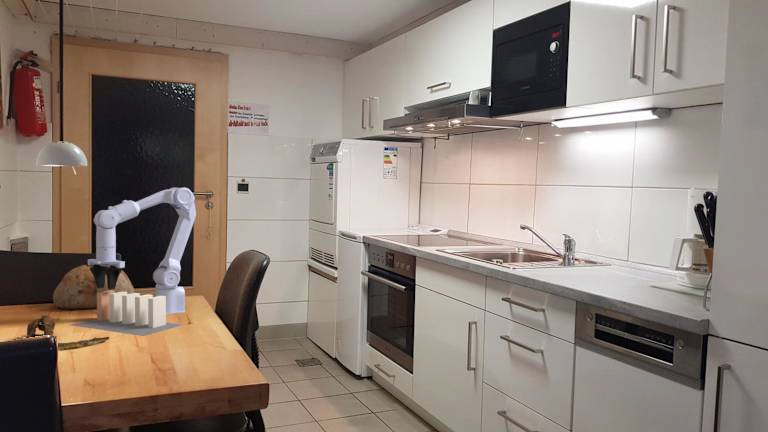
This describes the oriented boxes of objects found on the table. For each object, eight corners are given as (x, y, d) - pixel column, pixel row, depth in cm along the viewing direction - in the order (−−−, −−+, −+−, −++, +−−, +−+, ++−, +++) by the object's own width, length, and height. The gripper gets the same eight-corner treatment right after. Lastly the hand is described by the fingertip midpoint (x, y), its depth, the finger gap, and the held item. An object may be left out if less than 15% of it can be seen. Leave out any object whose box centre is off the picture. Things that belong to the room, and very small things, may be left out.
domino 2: (109, 321, 182) (109, 293, 182) (122, 318, 187) (122, 291, 187) (114, 322, 181) (114, 294, 181) (127, 319, 186) (127, 292, 186)
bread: (45, 312, 197) (44, 269, 196) (64, 300, 219) (64, 261, 219) (127, 310, 203) (127, 268, 203) (138, 298, 226) (138, 260, 225)
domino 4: (135, 325, 178) (134, 296, 177) (148, 322, 183) (148, 294, 182) (139, 326, 177) (139, 297, 177) (152, 322, 182) (152, 294, 181)
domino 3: (122, 323, 180) (122, 295, 180) (135, 320, 185) (135, 292, 184) (126, 324, 179) (126, 295, 179) (139, 321, 184) (139, 293, 184)
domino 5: (148, 327, 176) (148, 298, 175) (161, 323, 180) (161, 295, 180) (153, 328, 175) (153, 298, 174) (165, 324, 180) (165, 296, 179)
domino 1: (97, 320, 184) (97, 292, 184) (110, 317, 189) (110, 290, 189) (101, 320, 184) (101, 293, 183) (114, 317, 188) (114, 290, 188)
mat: (69, 326, 178) (69, 324, 178) (112, 316, 192) (112, 315, 192) (143, 337, 165) (143, 335, 165) (183, 326, 180) (183, 324, 180)
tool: (10, 338, 161) (10, 373, 136) (11, 316, 161) (11, 348, 136) (101, 332, 174) (116, 363, 149) (103, 312, 174) (118, 340, 149)
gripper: (79, 246, 185) (79, 288, 185) (111, 249, 179) (112, 292, 179) (98, 245, 191) (98, 285, 192) (130, 247, 185) (130, 288, 186)
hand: (106, 288), depth 186 cm, fingers open, 4 cm apart
